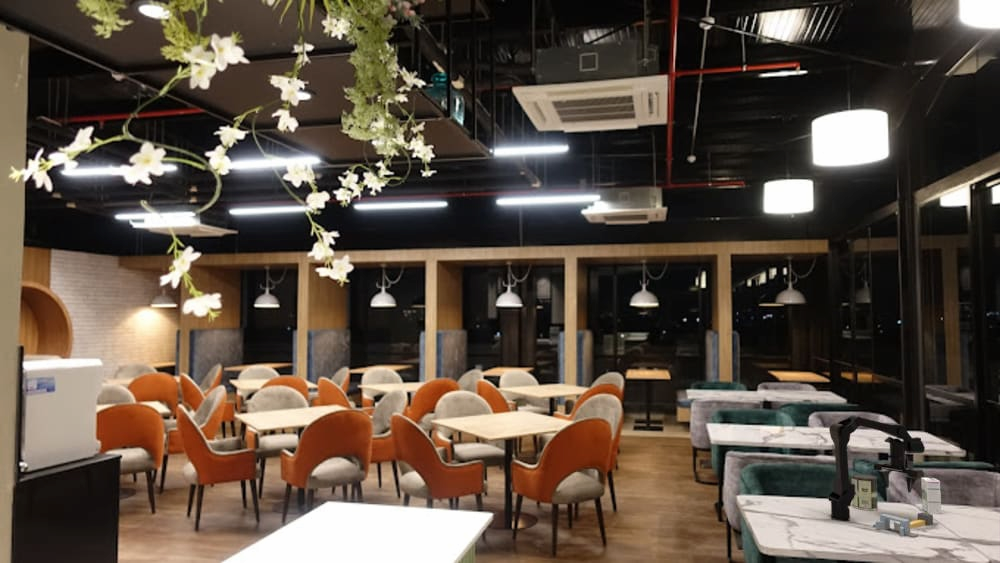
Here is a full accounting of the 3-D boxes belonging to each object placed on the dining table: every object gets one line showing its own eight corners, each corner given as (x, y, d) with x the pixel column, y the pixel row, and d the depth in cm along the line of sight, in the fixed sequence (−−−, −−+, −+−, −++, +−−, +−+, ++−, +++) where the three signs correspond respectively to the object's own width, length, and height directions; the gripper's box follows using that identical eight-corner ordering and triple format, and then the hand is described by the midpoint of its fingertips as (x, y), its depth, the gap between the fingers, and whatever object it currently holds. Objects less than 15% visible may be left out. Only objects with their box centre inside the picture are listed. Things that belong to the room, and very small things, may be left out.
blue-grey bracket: (909, 538, 255) (908, 524, 255) (868, 527, 269) (868, 513, 269) (918, 536, 258) (917, 522, 258) (877, 525, 272) (877, 511, 272)
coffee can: (869, 504, 304) (869, 473, 305) (882, 510, 294) (881, 478, 295) (847, 504, 304) (846, 473, 305) (859, 510, 294) (858, 478, 295)
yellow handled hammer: (902, 532, 263) (902, 521, 264) (892, 529, 267) (892, 519, 267) (933, 524, 274) (932, 514, 274) (923, 522, 278) (922, 512, 278)
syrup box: (941, 514, 290) (941, 480, 291) (927, 513, 291) (926, 479, 292) (936, 510, 296) (935, 477, 296) (921, 509, 297) (920, 477, 298)
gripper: (930, 455, 280) (931, 493, 279) (886, 448, 296) (887, 483, 295) (916, 457, 274) (917, 496, 273) (872, 450, 291) (872, 486, 290)
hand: (898, 490), depth 283 cm, fingers open, 9 cm apart
